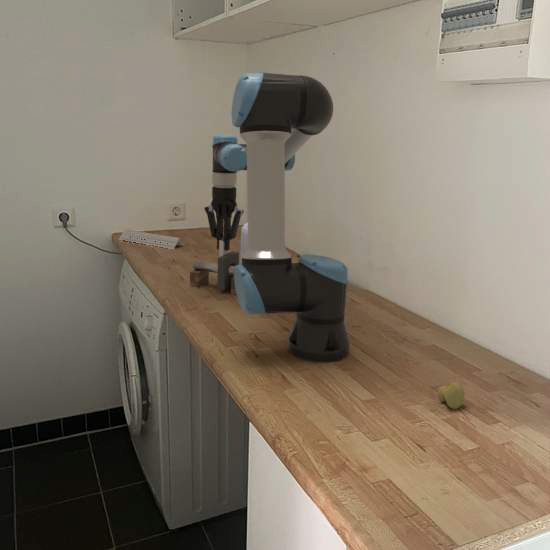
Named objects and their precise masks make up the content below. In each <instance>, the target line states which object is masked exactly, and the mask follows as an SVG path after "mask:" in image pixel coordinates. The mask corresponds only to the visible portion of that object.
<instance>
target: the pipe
mask: <svg viewBox="0 0 550 550" xmlns="http://www.w3.org/2000/svg"><path fill="white" fill-rule="evenodd" d="M192 264H193V265H192V266H193V267H192V268H193V270H201V271H207V272H209V273H215V274H218V263H215V262H208V261H201V260H195V261H193V263H192ZM234 268H235V266H231V265H229V274H228V275H233V276H234Z"/></svg>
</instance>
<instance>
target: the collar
mask: <svg viewBox="0 0 550 550" xmlns="http://www.w3.org/2000/svg"><path fill="white" fill-rule="evenodd" d="M239 256H240V252H239V251H230V252H227V254H225V255H223V256H221V257H219V256H218V257H217V264H218V273H217V289H219V290H226V289H227V288H229V287H231V278H233V277H234V276H233V275H228V274H229V265H231V266H236V265H238V264H240V261H239V260H240V258H239Z"/></svg>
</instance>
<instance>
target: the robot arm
mask: <svg viewBox="0 0 550 550" xmlns="http://www.w3.org/2000/svg"><path fill="white" fill-rule="evenodd" d="M232 97H233V98H232V104H231V124H232V125H233V126H234V127H236V128H239V137H241V139H242V140H243V141H244V142H245V143H238V137H237V136H236V135H233V134H215V135H214V136H213V138H212V144H211V145H212V146H211V147H212V174H211V175H212V176H211V179H212V180H211V184H212V187H211V198H212V201H210V204H209V205H208V206H205V207H204V208H203V209H204V212H205V213H206V216H207V220H208V224H209V225H208V226H209V230H210V235H211V237H212V238H215V239H216V249H217V250H218V258H219V257H221V256H223V255H225V254H228V251H229V250H230V246H231V245H230V244H231V243H230V241H231V240H233V239H235V238H236V237H237V233H238V229H239V226H240V225H239V224H240V222H241V217H242V216H243V214H244V213H245V212H244V209H241V208H239V207H238V204H237V187H236V186H237V181H238V180H237V178H238V177H237V173H238V172H240V171H246V193H247V195H246V196H247V202H246V203H247V204H246V205H247V207H246V208H247V222H248V249H247V251H246V252H245V253H244V254H243V255H242V264H240V263H239V264H238V265H236V266H235V268H234V283H235V289H236V294H237V295H236V294H235V295H236V297H237V298H236V299H237V301H238V304H239V306H240V308H241V310H242V311H243V312H244V313H245V314H247V315H262V316H264V315H269V314H272V315H273V314H287V313H296V317H295V320H294V323H293V325H292V327H291V331H290V333H289V336H288V339H287V350H288V352H289V353H290V354H292V355H293V356H294V357H297V358H299V359H302V360H306V361H310V362H311V361H312V362H317V363H318V362H320V363H323V362H324V363H325V362H326V363H327V362H334V361H335V362H336V361H339V360H343V359H344V358H346V357H347V356H348V355H349V352H350V339H349V336H348V332H347V328H346V325H345V324H346V323H345V314H346V302H347V290H348V283H349V281H348V280H349V279H348V271H349V270H348V268H347V265H346V264H345V262H342V261H340V260H339V259H336V258H334V257H333V258H332V257H328V256H324V255H319V254H309V253H308V254H307V253H306V254H302V255H300V256H299V259H298V262H293V261H292V260H293V258H292V255H291V254H290V252H289V251H288V250H287V249H286V211H285V209H286V206H285V205H286V204H285V202H286V201H285V199H286V197H285V196H286V194H285V193H286V192H285V191H286V189H285V188H286V185H285V184H286V183H285V177H286V175H285V174H286V173H285V171H292V169H293V168H294V165H295V162H296V154H297V152H298V151H299V150H300V149H301V148H303V146H304V145H305V144H306V143H307V142H308V141H309V140H310V138H312V137H313V136H316V135H319V134H320V133H322V132H323V131H324V130H325V129H326V128H327V127H328V125H329V124H330V122H331V120H332V118H333V115H334V114H333V113H334V102H333V98H332V96H331V94H330V92H329V90H328V89H327V87H326V86H325V85H323V83H322V82H321V81H319V80H318V79H316V78H313V77H311V76H307V75H301V74H299V75H297V74H296V75H294V74H284V73H283V74H282V73H269V72H262V71H261V72H247V73H243V74H242V75H241V76H240V77H239V79H238V80H237V82H236V85H235V88H234V92H233V96H232ZM233 214H234V216H233ZM232 216H233V219H232ZM231 222H232V223H231Z"/></svg>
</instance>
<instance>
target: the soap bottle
mask: <svg viewBox="0 0 550 550" xmlns="http://www.w3.org/2000/svg"><path fill="white" fill-rule="evenodd" d="M247 249H248V221H247V222H246V223H244V224H243V225H242V226H241V230H240V253H239V256H240V258H239V260H240V261H239V264H242V255H243V254H244V253H245V252H246V251H247Z"/></svg>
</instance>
